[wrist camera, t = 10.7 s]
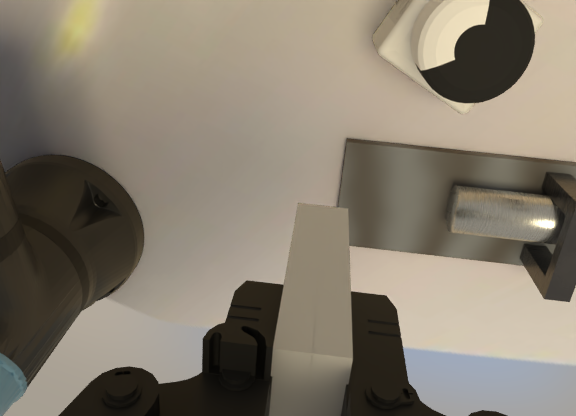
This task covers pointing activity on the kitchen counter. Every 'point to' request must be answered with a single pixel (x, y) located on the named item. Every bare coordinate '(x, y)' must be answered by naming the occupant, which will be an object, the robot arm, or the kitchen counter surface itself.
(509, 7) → the container
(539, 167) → the board
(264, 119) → the kitchen counter surface
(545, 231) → the tube
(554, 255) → the collar
